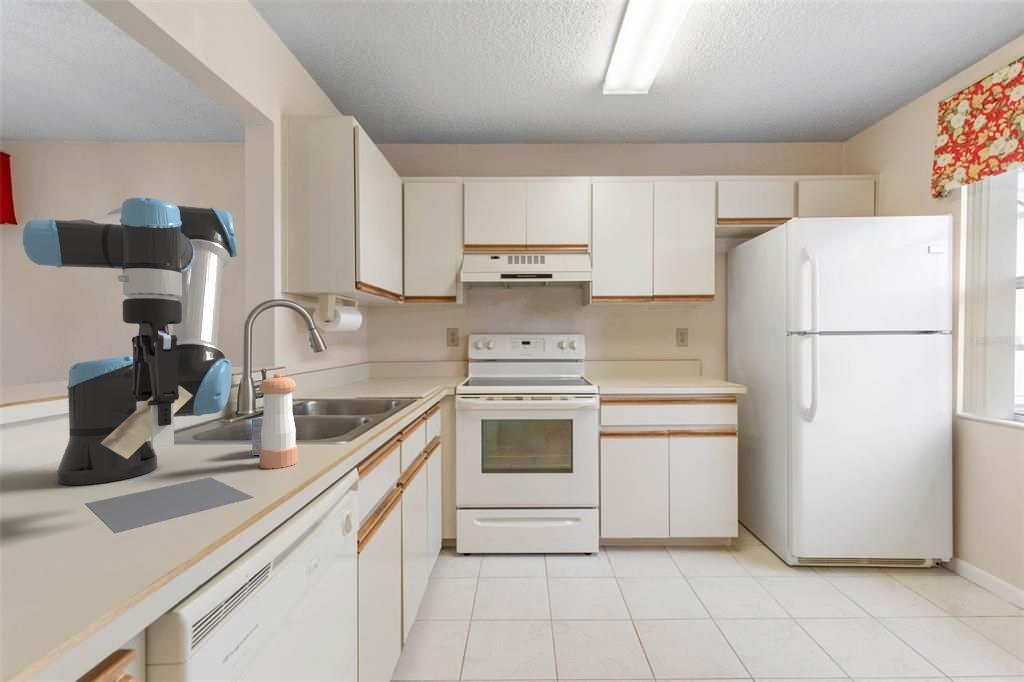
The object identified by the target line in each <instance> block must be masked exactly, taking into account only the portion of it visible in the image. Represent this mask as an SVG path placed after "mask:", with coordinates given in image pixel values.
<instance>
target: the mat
mask: <svg viewBox="0 0 1024 682" xmlns="http://www.w3.org/2000/svg"><path fill="white" fill-rule="evenodd" d="M254 498H255V497H254V496H252V495H251V494H248V493H246V492H244V491H241V490H239V489H237V488H234V487H233V486H231V485H228V484H226V483H224V482H221V481H220V480H217V479H215V478H213V477H204V478H201V479H200V478H199V479H196V480H195V479H194V480H189V481H185V482H180V483H175V484H172V485H167V486H166V485H165V486H162V487H161V486H160V487H157V488H151V489H148V490H142V491H138V492H133V493H130V494H128V493H127V494H124V495H119V496H115V497H110V498H105V499H101V500H96V501H91V502H86V503H85V504H84V505H86V506H87V508H89V510H91V511H92V512H93V513H94V514H95V515H96V517H98V518H99V519H100V520H101V521H102V522H103V523H104V524H105V525H106V526H107V527H108V528H109V529H110V530H112V531H113V533H114V534H118V533H122V532H127V531H129V530H132V529H133V530H134V529H137V528H141V527H145V526H148V525H149V526H150V525H153V524H157V523H161V522H163V521H164V522H165V521H169V520H172V519H177V518H180V517H185V516H187V515H192V514H196V513H201V512H203V511H208V510H211V509H215V508H219V507H223V506H226V505H230V504H234V503H239V502H242V501H246V500H247V501H248V500H250V499H254Z"/></svg>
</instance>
